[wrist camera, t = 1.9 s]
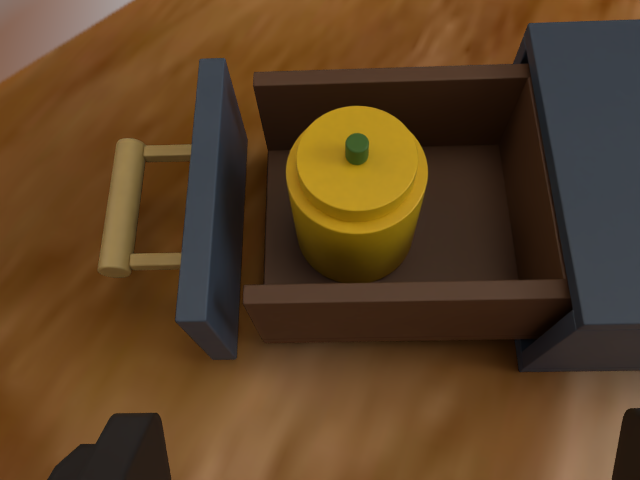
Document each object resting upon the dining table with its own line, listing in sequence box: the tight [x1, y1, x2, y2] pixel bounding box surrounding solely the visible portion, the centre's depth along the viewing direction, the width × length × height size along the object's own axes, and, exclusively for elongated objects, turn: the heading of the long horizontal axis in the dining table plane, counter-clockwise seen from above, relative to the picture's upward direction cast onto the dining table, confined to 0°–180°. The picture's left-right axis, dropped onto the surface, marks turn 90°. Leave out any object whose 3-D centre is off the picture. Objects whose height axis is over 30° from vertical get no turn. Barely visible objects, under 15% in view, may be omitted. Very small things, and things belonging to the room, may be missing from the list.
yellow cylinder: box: [286, 106, 428, 283], centre depth 26 cm, size 6×6×8 cm
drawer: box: [98, 58, 573, 360], centre depth 28 cm, size 20×12×7 cm, turn 90°
